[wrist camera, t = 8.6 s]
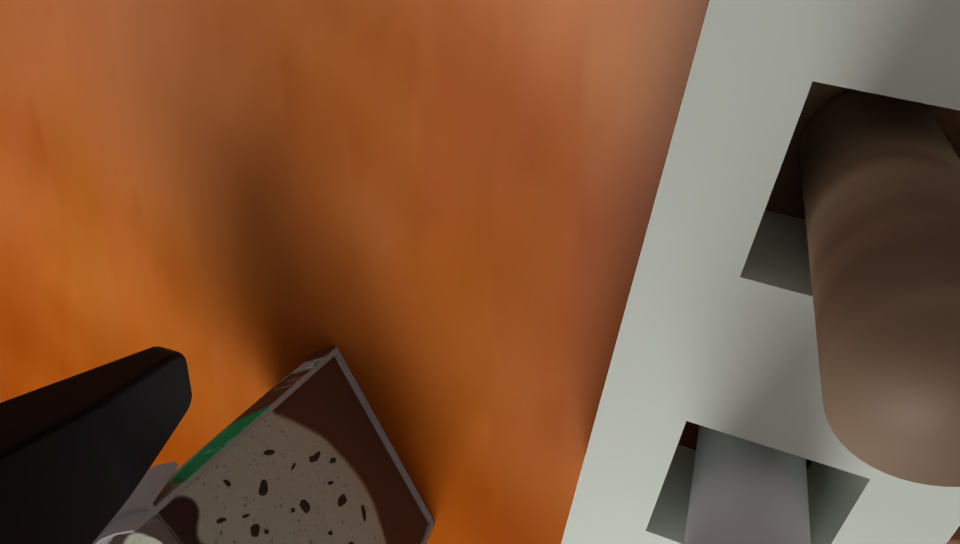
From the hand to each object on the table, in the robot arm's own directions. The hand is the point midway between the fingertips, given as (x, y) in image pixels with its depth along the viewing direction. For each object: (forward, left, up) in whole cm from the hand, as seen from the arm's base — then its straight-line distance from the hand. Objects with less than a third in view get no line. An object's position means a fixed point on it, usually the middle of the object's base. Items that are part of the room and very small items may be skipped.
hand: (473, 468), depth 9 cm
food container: (+16, -9, -13) cm, 22 cm away
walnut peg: (-1, +6, -12) cm, 14 cm away
